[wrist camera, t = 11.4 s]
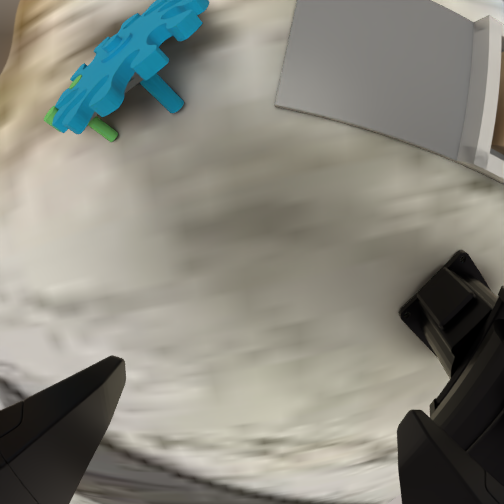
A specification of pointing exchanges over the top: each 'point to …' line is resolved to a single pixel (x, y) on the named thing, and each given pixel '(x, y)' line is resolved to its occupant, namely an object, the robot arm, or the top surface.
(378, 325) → the top surface
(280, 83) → the gray plate
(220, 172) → the top surface
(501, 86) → the cardboard box
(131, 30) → the gear
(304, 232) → the top surface
